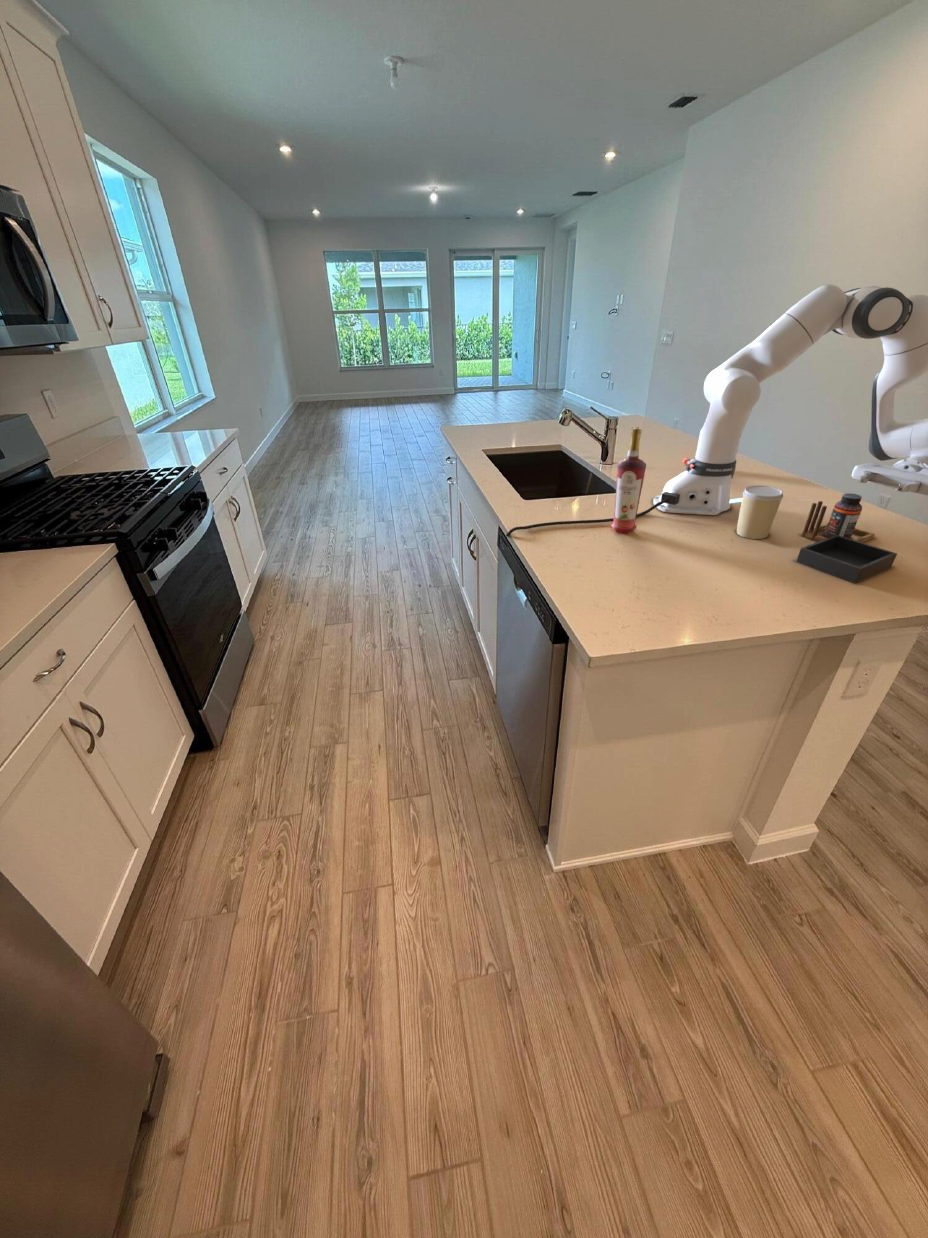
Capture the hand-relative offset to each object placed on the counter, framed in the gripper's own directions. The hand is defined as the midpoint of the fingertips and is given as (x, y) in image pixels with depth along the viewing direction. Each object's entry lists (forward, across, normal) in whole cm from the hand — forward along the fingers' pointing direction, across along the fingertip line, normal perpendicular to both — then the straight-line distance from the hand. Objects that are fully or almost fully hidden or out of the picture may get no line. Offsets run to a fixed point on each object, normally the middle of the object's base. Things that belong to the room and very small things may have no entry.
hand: (880, 483), depth 133 cm
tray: (+27, +10, +12) cm, 31 cm away
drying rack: (+12, 0, +12) cm, 17 cm away
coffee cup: (+28, -14, +12) cm, 33 cm away
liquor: (+55, -35, +12) cm, 66 cm away
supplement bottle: (+12, 0, +12) cm, 17 cm away
